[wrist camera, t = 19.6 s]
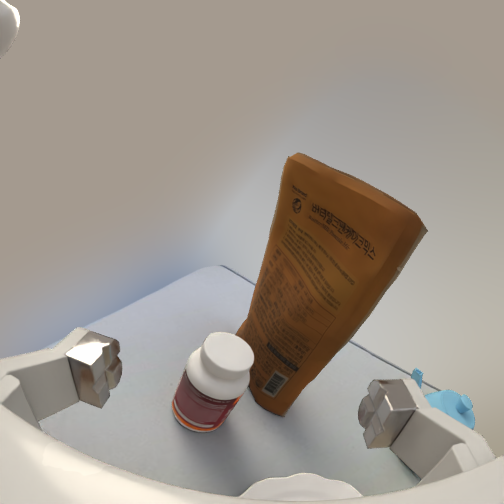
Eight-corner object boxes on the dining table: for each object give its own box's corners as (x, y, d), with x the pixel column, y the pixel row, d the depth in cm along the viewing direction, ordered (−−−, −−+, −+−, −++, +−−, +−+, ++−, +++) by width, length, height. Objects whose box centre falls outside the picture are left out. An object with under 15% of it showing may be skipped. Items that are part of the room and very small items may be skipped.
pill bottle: (224, 438, 26) (266, 384, 22) (168, 428, 24) (192, 370, 20) (223, 394, 31) (258, 334, 27) (173, 384, 30) (197, 319, 26)
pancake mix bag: (256, 432, 28) (414, 210, 17) (210, 322, 43) (287, 143, 32) (301, 422, 31) (446, 231, 20) (248, 324, 46) (328, 162, 35)
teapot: (389, 486, 23) (453, 443, 19) (380, 400, 39) (423, 354, 35) (453, 487, 23) (507, 447, 18) (436, 415, 39) (476, 376, 34)
